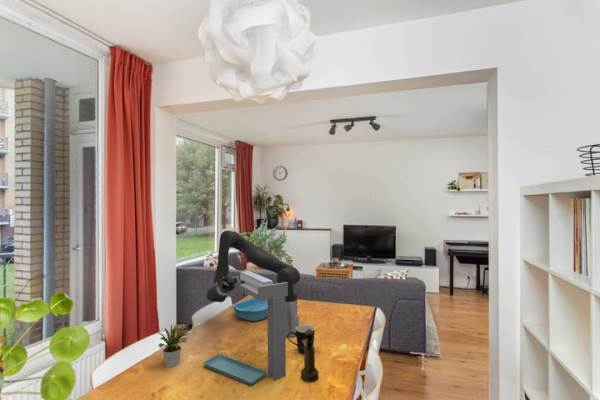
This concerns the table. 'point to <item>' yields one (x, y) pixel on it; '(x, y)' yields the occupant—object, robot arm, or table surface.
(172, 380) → the table surface
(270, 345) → the grey gallows post
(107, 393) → the table surface
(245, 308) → the casserole dish
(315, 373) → the mortar and pestle
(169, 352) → the house plant
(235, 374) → the teal serving tray
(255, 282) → the grey rectangular box
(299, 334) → the coffee mug
